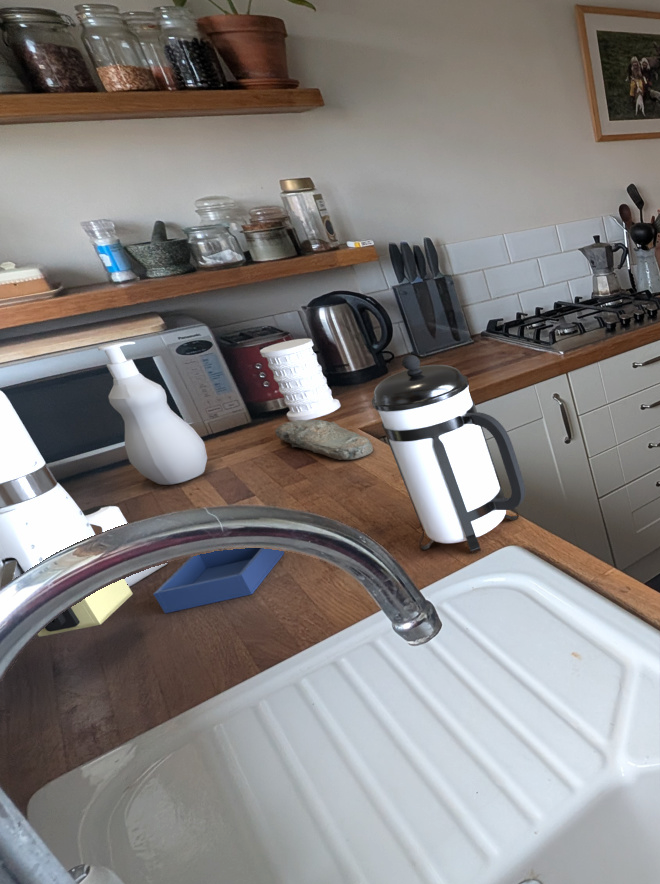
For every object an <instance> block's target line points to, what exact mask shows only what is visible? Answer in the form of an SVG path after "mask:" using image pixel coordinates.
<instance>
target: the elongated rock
mask: <svg viewBox="0 0 660 884" xmlns="http://www.w3.org/2000/svg"><path fill="white" fill-rule="evenodd" d="M274 432H275V436H276V437H277V438H278V439H280V440H282V441H283V442H285V443H287V444H290V446H291V448H301V449H303V450H309V452H310V451H312V452H313V453H314V454H319V455H322V456H326V457H328V458H332V459H333V460H338V461H341V460H346V461H347V460H356V459H360V458H363V457H366V456H368V455H370V454H372V452H373V451H374V450H373V449H374V448H373V447H374V446H373V443H372V442H371V441H370V439H369V438H368V437H366V436H364V435H360V434H358V433H357V432H354V431H351V430H349V429H346V428H344V427H341V426H339V425H338V423H335V421H331V422H330V421H327V420H322V419H309V420H297V421H288V422H285V423H283V424H282V425H278V427H277V428H275V431H274Z"/></svg>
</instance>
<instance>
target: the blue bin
mask: <svg viewBox="0 0 660 884" xmlns="http://www.w3.org/2000/svg"><path fill="white" fill-rule="evenodd" d="M284 555H285V551H284V550H283V551H279V550H272V549H264V548H245V549H233V550H223V551H214V552H211V553H206V554H200V555H197V556H193V557H191V556H190V557H189V558H188V559H187V560H186V561H185V562H183V564H182V565H181V566H180V567H179V568H178V569H177V570H176V571H175V572H174V573H173V574H172V575H171V576H170V577H168V579H166V580H165V582H164V583H162V585H161V586H160V587H158V589H156V590H155V591H154V592H153V596H154V597H155V599H156V601H157V603H158V604H159V606H160V608H161V610H162V611H163V612H164V614H169V613H174V612H179V611H183V610H187V609H192V608H196V607H201V606H206V605H210V604H215V603H220V602H224V601H228V600H232V599H237V598H242V597H246V596H250V595H253V594H254V593H255V591H256V590H257V589H258V588H259V586H260V585H261V584H262V583H263V581H264V580H265V579H266V577H267V576H268V575H269V574H270V572H271V571H272V570H273V568H274V567H275V566H276V565H277V563H278V562H279V561H280V560H281V559H282V557H283V556H284Z"/></svg>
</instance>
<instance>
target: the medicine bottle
mask: <svg viewBox="0 0 660 884" xmlns="http://www.w3.org/2000/svg"><path fill="white" fill-rule="evenodd" d="M81 511H82V513H83V514H84V516H85V517H86V519H87V520H88V522H89V523H90V524H93V525H97V526H101V527H102V532H105V531H107V530H110V529H113V528H115V527H118V526H121V525H124V524H127V523H128V521H127V519H126V518H125V516H124V514H123V513H122V511H121V509H120V507H119V506H117V505H114V504H103V505H97V506H93V507H91V508H90V507H89V508H87V509H84V510H81ZM166 565H168V563H165V564H161V565H159V566H155V567H151V568H149V569H146V570H144V571H141V572H139V573H136V574H133V575H131V576H129V577H126V578H125V581H126V583H127V584H128V586H129V588H130V587H133V585H135V584H137V583H139V582H140V581H142V580H143V579H145V578H147V577H149V576H150V575H152V574H153V573H155V572H156V571H159V570H160V569H161V568H163V567H165V566H166Z"/></svg>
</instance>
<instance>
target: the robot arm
mask: <svg viewBox="0 0 660 884" xmlns="http://www.w3.org/2000/svg"><path fill="white" fill-rule="evenodd" d="M82 511H83V510H82V509H81V508H80V507H79V505H78V504H77V503H76V502H75V500H74V499H73V498H72V496H71V495H70V494H69V493H68V491H66V489H65V488H64V487H63V486H62V485H61V484H60V483H59V482H57V480H56V478H55V476H54V474H53V473H52V471H51V469H50V468H49V466H48V465H47V463H46V461H45V459H44V457H43V456H42V454H41V453H40V451H39V449H38V447H37V445H36V444H35V442H34V440H33V439H32V437H31V435H30V433H29V431H28V430H27V428H26V426H25V424H23V421H22V420H21V418H20V417H19V415H18V413H17V411H16V409H15V408H14V406H13V405H12V403H11V401H10V399H9V398H8V396H7V395H6V394H5V393H4V392H3V391H2V390H0V587H2V586H5V585H6V584H8V583H9V582H10V581H12V580H14V579H15V578H16V577H18V576H20V575H21V574H23V573H24V572H26V571H27V570H29V569H30V568H32V567H34V566H35V565H37V564H39V563H40V562H42V561H43V560H45V559H46V558H48V557H50V556H51V555H53V554H55V553H56V552H59V551H60V550H63V549H65V548H67V547H69V546H71V545H73V544H75V543H77V542H80V541H82V540H84V539H87V538H89V537H91V536H94V535H97V534H99V533H102V527H101V526H97V525H93V524H90V523H89V522H88V520H87V519H86V517H85V516H84V514H83V513H82ZM79 623H80V621H79V620H78V618H77V616H76V615H75V613H74V612H73V610H72V609H71V608H69V609H67V610H66V611H65V612H63V613H62V614H60V615H59V616H58V617H57V618H56V619H54V620H53V621H52V622H50V623H49V624H48V625H47V626H46V627H45V629H46V630H47V631H50V632H51V631H57V630H62V629H67V628H72V627H76V626H77V625H78V624H79Z"/></svg>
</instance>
